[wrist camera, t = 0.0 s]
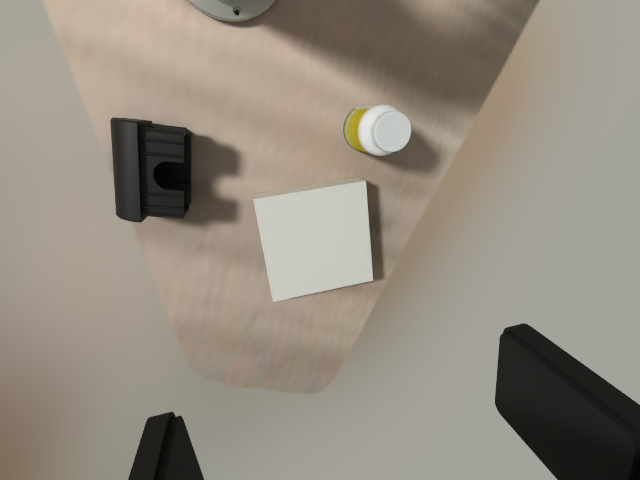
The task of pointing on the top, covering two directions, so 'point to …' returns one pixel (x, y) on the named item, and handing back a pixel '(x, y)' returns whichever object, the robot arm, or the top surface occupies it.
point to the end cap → (150, 169)
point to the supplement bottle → (376, 129)
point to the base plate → (315, 237)
